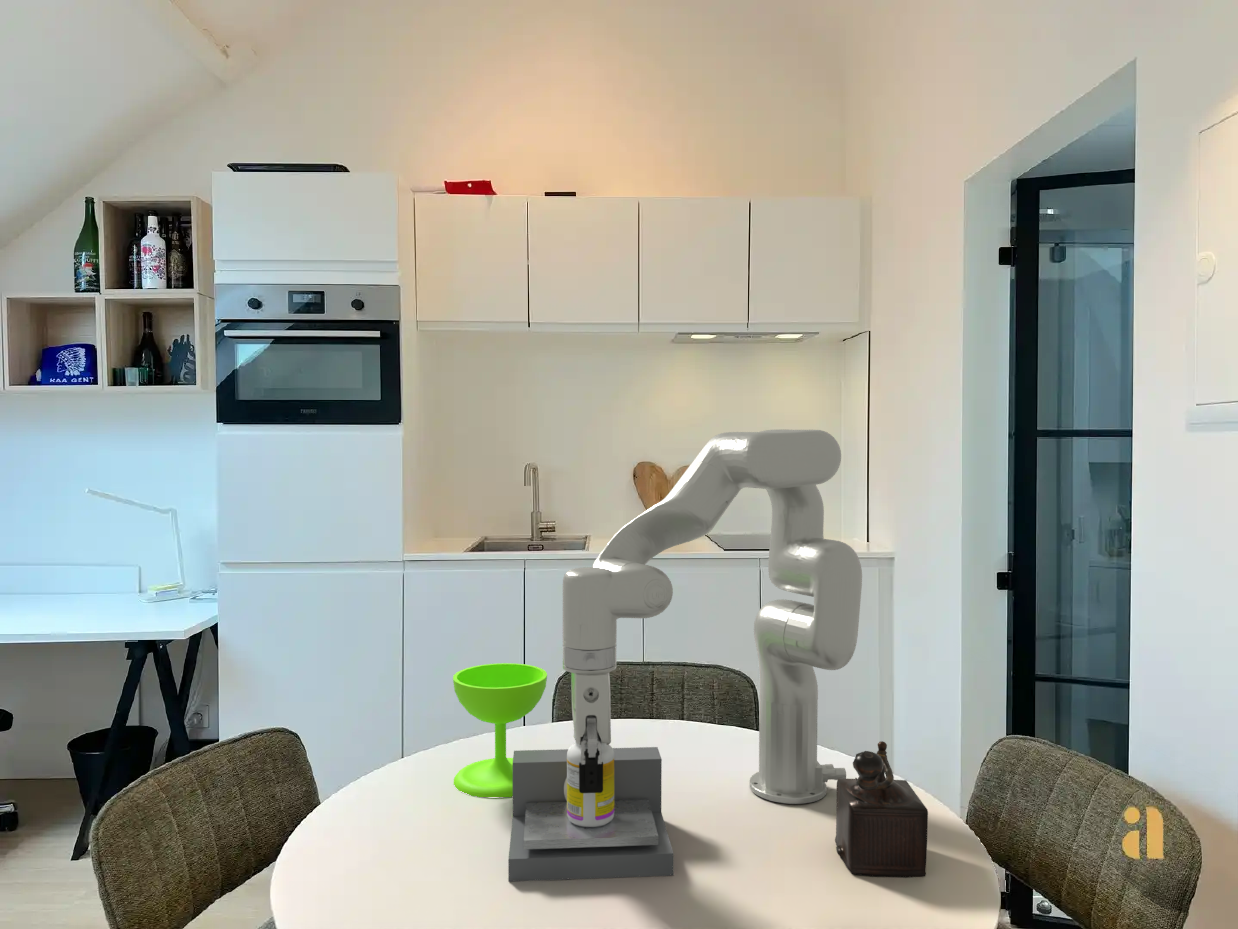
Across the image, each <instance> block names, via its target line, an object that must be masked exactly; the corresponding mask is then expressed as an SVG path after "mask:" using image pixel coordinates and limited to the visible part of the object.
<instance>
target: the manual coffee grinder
mask: <svg viewBox="0 0 1238 929" xmlns="http://www.w3.org/2000/svg"><path fill="white" fill-rule="evenodd" d="M877 748H878V750H877V751H876V752H874V751H869V750H865V751H861V752H858V753H856V754H855V758H854V760H853V762H852V767H853V769H854V771H856V773H857V775H858V777H855V778H846V779H845V778H838V780H836V804H835V805H836V808H835V809H836V814H835V815H836V816H835V819H836V821H835V823H836V825H835V826H836V827H835V837H834V842H835V845H836V846H835V851H836V853H837V854H838V856H839V857H840V859H841V860H842V862H843V864H844V865H845V867H846V868H847V870H848V871H849V872H850V874H852V875H859V876H866V877H877V878H881V877H882V878H914V877H915V878H921V877H922V878H923V877H926V875H927V872H926V870H927V853H928V822H929V820H928V819H929V816H928V815H929V811H928V809H927V807H926V805H925V804H924V803H923V802H922V799H920V797H919V796H918V794H916V792H915V791H914V789H913V788H912V786H911V785H910V784H909V782H908V781H907V780H905V779H895V776H894V772H893V770H892V768H891V765H890V763H889V760H888V755H887V754H888V752H887V748H888V744H887V743H886V741H882V740H881V741H879V742H878V743H877Z"/></svg>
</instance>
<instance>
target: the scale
mask: <svg viewBox="0 0 1238 929" xmlns="http://www.w3.org/2000/svg"><path fill="white" fill-rule="evenodd" d="M568 749H569V748H568ZM568 749H567V748H566V749H564V748H563V749H562V748H561V749H533V750H531V749H530V750H529V749H528V750H526V749H523V750H521V749H520V750H513V756H512V758H513V797H512V818H511V819H512V821H511V830H510V841H509V851H508V861H507V862H508V866H507V867H508V868H507V869H508V870H507V871H508V878H507V879H508V882H527V881H530V882H531V881H535V882H536V881H555V880H580V879H581V880H585V879H610V878H612V879H613V878H634V877H635V878H636V877H637V878H639V877H640V878H641V877H660V876H661V877H664V876H665V877H666V876H667V877H668V876H674V851H673V847H672V844H671V840H670V837H669V834H668V829H667V827H666V824H665V820H664V816H663V813H662V772H663V771H662V767H663V766H662V760H663V759H662V757H661V754H660V750H659V748H658V746H651V747H650V746H645V747H644V746H643V747H612V749H613V751H614V800H639V799H648V800H649V803H650V807H651V811H652V814H653V818H654V822H655V826H656V829H657V833H658V845H639V846H609V847H580V848H551V849H524V829H525V814H526V803H539V802H567V752H568Z"/></svg>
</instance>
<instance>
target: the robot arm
mask: <svg viewBox="0 0 1238 929" xmlns="http://www.w3.org/2000/svg"><path fill="white" fill-rule="evenodd" d="M841 462H842V451H841V448H840V445H839V443H838V441H837V439H836V438H835V437H834V436H833V435H832V434H830V433H828V432H827V431H824V430H821V429H765V430H761V431H731V432H730V431H729V432H721V433H718V434H716V435H714V436H713V437H711V438H710V439H709V440H708V441H707V442H706V444H705V445H704V446H703V447H702V449H701V450H700V451H699V453H698V454H697V455H696V457H694V458H693V460H692V462H691V463H690V464H689V466H688V467H687V468H686V470H685V471H684V472H683V474H681V476H680V478H679V479H678V480H677V481H676V483H675V484H674V486H673V487H672V488H671V489H670V491H669V493H668V494H667V495H666V496H665V497H664V498H663V499H661V500H660V501H659V502H658V503H656V504H654V505H652V506H651V507H649V508H648V509H646V510H645V511H644V512H642V513H640V514H639V515H638V516H637V517H635V518H632V520H631V521H629V522H628V523H627V524H625V525H624V526H622V527H621V528H620V529H619V530H618V531H617V532H616V533H615V534H614V535H613V537H611V539H610V540H609V541H608V543H607V544H606V545H605V546H604V548H603V549H602V550H601V551H600V553H598V554H599V555H598V556H597V557H596V558H595V560H594V562H593V563H592V565H591V566H589V567H588V566H587V567H586V566H585V567H575V568H572V569H570V570H568V571H566V573H565V574H564V576H563V579H562V669H563V670H564V671H566V672H568V673H570V675H571V683H570V684H571V690H570V691H571V713H572V722H573V723H572V724H573V733H574V732H575V738H574V740H575V739H576V743H577V744H578V745H579V746H580V745H581V763H579V791H580V793H601V792H602V791H603V762H602V756H601V740H602V743H606V745H610V744H611V743H612V729H611V728H612V727H611V726H612V725H611V721H612V720H611V715H612V714H611V712H612V711H611V678H610V672H613V671H615V670H616V669H617V630H618V629H617V623H618V622H617V620H618V619H650V618H655V617H657V616H658V615H660V614H661V613H664V612H665V610H666V609H667V608H668V607H669V606H670V604H671V602H672V600H673V594H674V588H673V584H672V581H671V579H670V578H669V576H668V575H667V574H666V573H665V572H664V571H663V570H661V569H659V568H657V567H655V566H652V565H649V564H647V563H648V562H649V561H651V559H653V558H655V557H656V556H657V555H659V554H661V553H662V552H664V551H666V550H669V549H671V548H672V547H675V546H676V547H677V546H679V545H682V544H686V543H689V542H691V541H695V540H697V539H699V538H702V537H705V536H706V535H707V534H709V533H710V532H711V531H712V530H713V529H714V527H715V526H716V525H717V523H718V521H719V520H720V519H721V517H722V516H723V515H724V513H725V512H726V510H727V509H728V508H729V506H730V505H731V503H733V501H734V499H735V498H736V497H737V495H738V494H739V492H740V491H741V490H742V489H744V488H748V489H749V488H750V489H751V488H752V489H763V490H766V492H767V494H768V496H769V500H770V505H771V526H770V538H769V550H768V566H767V567H768V578H769V581H770V582H771V583H772V584H773V586H775V587H776V588H777V589H779V590H782V591H785V592H789V593H793V594H796V595H802V596H808V597H813V604H811V603H806V602H801V601H796V600H792V599H784V598H783V599H773V600H771V601H769V602H766V603H764V605H762V607H760V609H759V610H758V612H757V613H756V616H755V618H754V623H753V636H754V644H755V647H756V652H757V659H758V668H759V669H758V670H759V705H758V706H759V710H758V711H759V715H758V716H759V718H758V719H759V720H758V721H759V723H758V724H759V725H758V726H759V727H758V728H759V729H758V734H759V735H758V736H759V738H758V739H759V742H758V743H759V744H758V749H759V750H758V771H757V772H756V773H754V774H753V775H751V777H750V778H749V789H750V790H751V791H752V793H754V794H755V795H756V796H758V797H760V798H762V799H764V800H767V801H770V802H775V803H780V804H786V805H787V804H789V805H801V804H802V805H803V804H810V803H814V802H818V801H820V800H822V799H823V798H824V797H825V796H826V794H827V783H828V780H829V781H830V780H833V781H837V780H838V778H845V779H847V771H846V768H845V767H835V766H834V764H833V763H826V764H820V763H819V761H818V712H819V710H818V708H819V706H818V704H819V703H818V699H819V689H818V686H819V685H818V680H817V676H816V672H815V669H814V668H817V669H821V670H826V671H836V670H840V669H842V668H844V667H845V666H847V665H848V664H849V663H850V661H851V660H852V658H853V656H854V653H855V651H856V646H857V642H858V634H859V623H860V614H861V613H860V611H861V610H860V609H861V600H862V599H861V598H862V586H863V572H862V564H861V561H860V559H859V556H858V554H857V552H856V551H855V550H854V549H853V547H851V546H850V545H849V544H847V543H845V542H843V541H840V540H835V539H828V538H824V525H825V524H824V522H825V521H824V519H825V518H824V516H825V510H824V509H825V508H824V507H825V506H824V501H823V498H822V495H821V492H820V490H819V488H818V487H817V485H821V484H824V483H826V482H829V481H830V480H831V479H832V478H833V477H834V476H835V475H836V474H837V472H838V470H839V468H840V466H841ZM586 723H587V727H586ZM583 734H584V737H583ZM597 736H598V740H597ZM584 738H587V740H584ZM580 743H581V744H580ZM585 747H587V749H586V750H585Z"/></svg>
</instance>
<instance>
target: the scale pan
mask: <svg viewBox="0 0 1238 929" xmlns="http://www.w3.org/2000/svg"><path fill="white" fill-rule="evenodd" d="M639 845H658V833H657V829H656V826H655V822H654V818H653V814H652V811H651V807H650V803H649V800H648V799H639V800H614V817H613V819H612V820H611V821H610V822H609V823H607V824H605V825H602V826H598V827H583V826H578V825H576V824H574V823H572V822H571V821H570V820H569V818H568V815H567V802H539V803H526V814H525V829H524V849H551V848H580V847H609V846H639Z"/></svg>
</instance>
